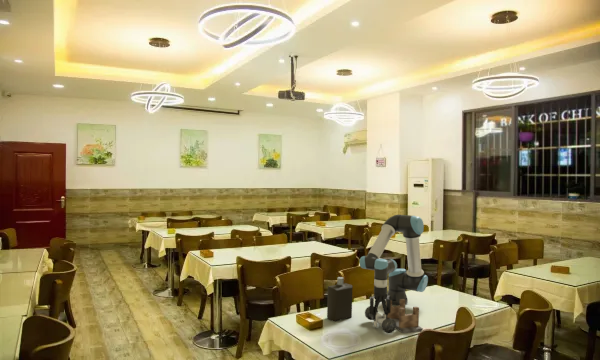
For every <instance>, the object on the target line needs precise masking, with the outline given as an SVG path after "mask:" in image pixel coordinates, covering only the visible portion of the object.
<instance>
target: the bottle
mask: <svg viewBox="0 0 600 360" xmlns="http://www.w3.org/2000/svg"><path fill="white" fill-rule="evenodd" d="M336 280H337V281H336V282H337V283H336V284H334V285H329V286H327V307H326V309H327V310H326V316H327V317H326V318H327V320H329V321H332V322H337V321H338V322H339V321H341V320H344V319H349V318H352V317H353V313H352V312H353V285H352V284H349V283H346V282H344V276H343V277H342V276H338V277H337V279H336Z"/></svg>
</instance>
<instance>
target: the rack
mask: <svg viewBox="0 0 600 360" xmlns="http://www.w3.org/2000/svg"><path fill="white" fill-rule="evenodd" d="M385 301H386V307H387V300H386V299H385ZM419 314H420V306H413V307H412V313H407V314H406V304H405V300H404V299H400V304H399V305H393V304H392V301H391V310H390V313H388V315H387V318H391V319H393V320H394V321H395V323H396V328H395V330H396V329H397V331H400V332H401V333H402V334H406V333H407V334H408V333H414V332H415V333H417V332H422V331H421V330H423V329H424V328H423V327H421V326H420V325H419V324H420V315H419Z"/></svg>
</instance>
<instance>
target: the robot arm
mask: <svg viewBox="0 0 600 360" xmlns="http://www.w3.org/2000/svg"><path fill="white" fill-rule="evenodd" d="M424 226H425V224H424V221H423V219H422V218H421V217H420V216H416V215H408V214H406V215H405V214H394V215H392V216H390V217H389V218H388V219H386V220H385V221H384V223H383V224H382V226H381V227H380V228H381V231H380V232H379V234H378V235H377V237H376V239H375V241H374V242H373V244H372V246H371V248H370V250H369V251H368V253H367V255H363V256H361V257H360V259H359V267H360V268H361V269H365V270H370V271H374V278H373V279H374V281H373V282H374V283H373V296H369V297H368V299H369V306H370V314H372V315H373V320H372V321H373V326H374V327H375V328H377V327H378V323H377V315H376V313H377V310H378V309H379V305H380V304H381V306H382V309H383V313H382V316H384V317H385V318H387V315H388V313H390V310H391V301H392V306H399V304H400V299H404V300H405V305H408V303H409V302H408V296H407V293H406V290H408V291H409V290H410V291H413V292H418V293H423V292H425V290H426V289H427V287H428V282H429V277H428V275H426V274H425V272H424V270H423V269H422V260H421V258H422V257H421V249H420V248H421V246H420V237H421V235H422V234H423V232H424ZM395 233H402V236H403V238H404V239H405V246H406V256H407V257H406V258H407V267H408V268H407V270H406V269H405V268H398V264H397V262H396V260H394V259H392V258H389V259H385V258H381V257H382V255H383V253H384V251H385V249H386V248H387V245H388V243H389V242H390V241H391V238H392V237H393V236H395ZM387 286H388V287H387ZM386 300H387V307H386Z"/></svg>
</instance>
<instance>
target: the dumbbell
mask: <svg viewBox="0 0 600 360" xmlns="http://www.w3.org/2000/svg"><path fill="white" fill-rule="evenodd" d="M376 315H377V325H380V326H381V329H382V331H383V332H384V333H386V334H392V333H393V332H394V331H395V330H396V323H395V321H394V320H393V319H391V318H385V317H384V316H383V314H381V313H379V311H378V309H377V313H376ZM364 316H365V318H366V319H368V320H369V321H374V320H373V315H372V314H370V305H369V306H367V307H366V308H365V310H364Z"/></svg>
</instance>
